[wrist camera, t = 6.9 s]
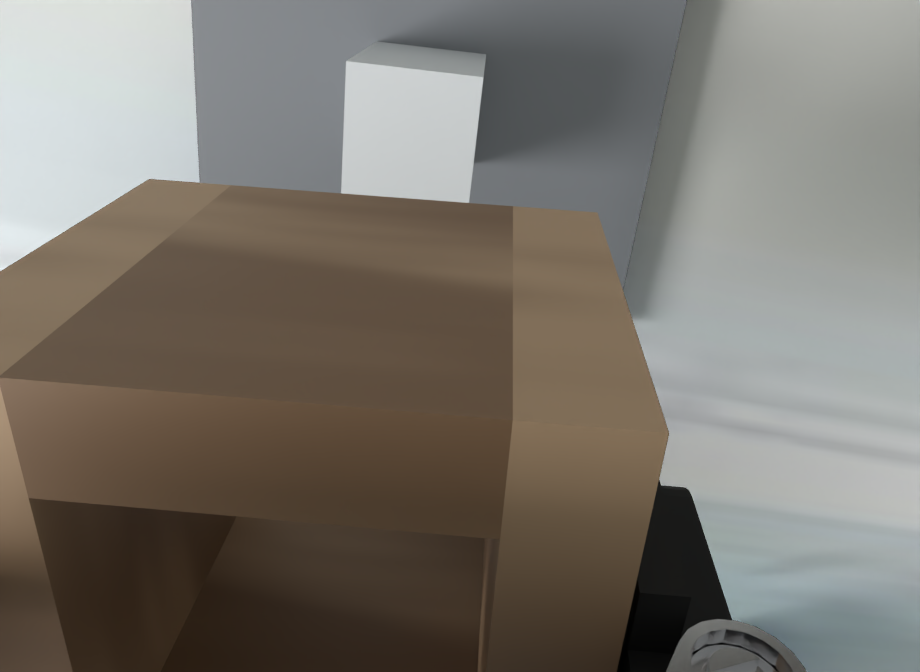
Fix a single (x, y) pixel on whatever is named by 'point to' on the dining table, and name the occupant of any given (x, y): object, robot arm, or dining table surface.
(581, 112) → the board
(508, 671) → the brown wooden square box
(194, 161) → the dining table surface
